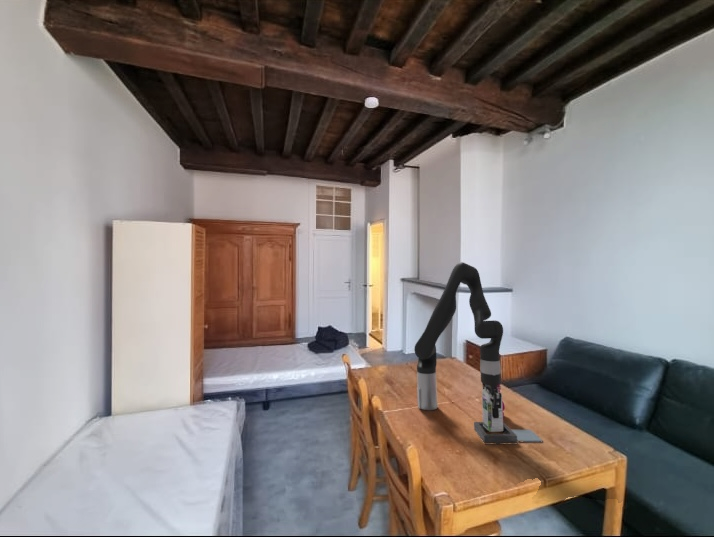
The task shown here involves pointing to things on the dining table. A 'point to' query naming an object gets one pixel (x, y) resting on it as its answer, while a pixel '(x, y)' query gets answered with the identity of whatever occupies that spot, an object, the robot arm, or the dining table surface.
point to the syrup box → (488, 420)
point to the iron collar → (495, 438)
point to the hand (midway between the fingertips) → (492, 414)
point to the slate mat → (527, 436)
